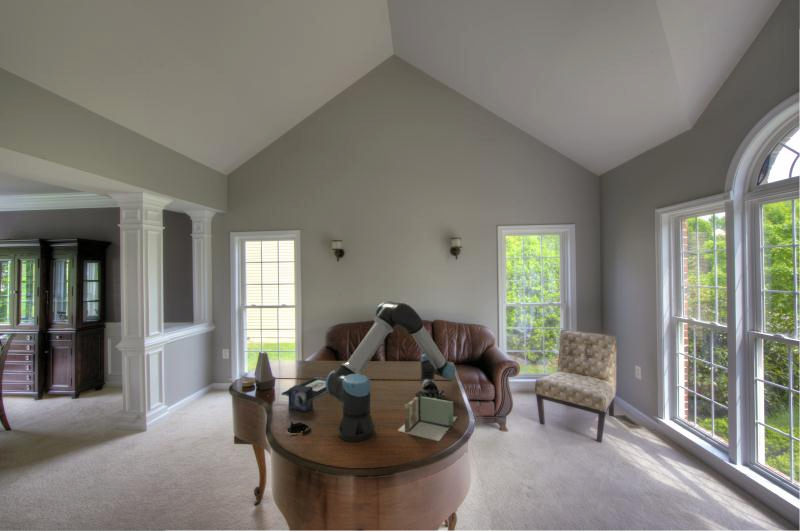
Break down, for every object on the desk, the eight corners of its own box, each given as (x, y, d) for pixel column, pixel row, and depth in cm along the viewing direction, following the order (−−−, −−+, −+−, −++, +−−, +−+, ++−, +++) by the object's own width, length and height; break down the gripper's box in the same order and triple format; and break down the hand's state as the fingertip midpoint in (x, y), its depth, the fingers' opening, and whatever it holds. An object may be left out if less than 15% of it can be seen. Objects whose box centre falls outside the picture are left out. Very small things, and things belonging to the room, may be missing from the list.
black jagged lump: (282, 441, 134) (282, 429, 134) (279, 430, 143) (279, 419, 143) (312, 434, 140) (312, 422, 140) (307, 424, 149) (307, 413, 149)
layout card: (439, 441, 132) (439, 440, 132) (397, 431, 140) (397, 430, 140) (457, 417, 153) (457, 416, 153) (420, 410, 162) (420, 409, 162)
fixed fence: (408, 433, 138) (408, 401, 138) (403, 432, 139) (403, 400, 140) (422, 420, 151) (421, 390, 151) (416, 419, 152) (416, 389, 152)
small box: (287, 410, 163) (287, 389, 163) (295, 405, 169) (295, 384, 170) (305, 412, 160) (306, 391, 160) (313, 407, 166) (313, 386, 167)
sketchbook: (281, 395, 184) (281, 391, 184) (315, 379, 212) (315, 376, 212) (311, 401, 176) (311, 397, 176) (343, 383, 203) (343, 380, 203)
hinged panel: (420, 419, 149) (420, 397, 149) (421, 417, 150) (421, 396, 151) (452, 426, 142) (452, 403, 142) (453, 424, 144) (453, 401, 144)
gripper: (442, 395, 173) (450, 414, 150) (417, 395, 173) (422, 415, 149) (441, 381, 174) (450, 398, 150) (417, 381, 173) (422, 398, 150)
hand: (436, 406), depth 150 cm, fingers closed
